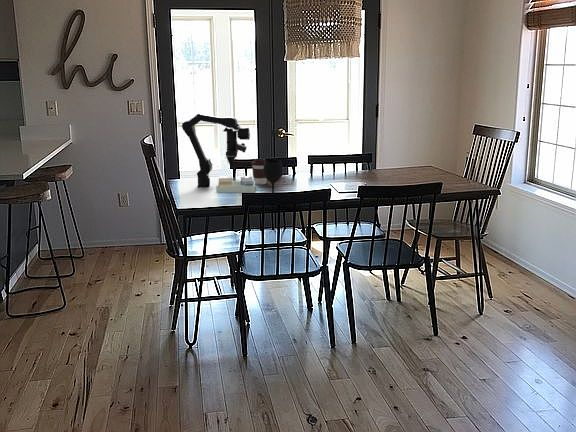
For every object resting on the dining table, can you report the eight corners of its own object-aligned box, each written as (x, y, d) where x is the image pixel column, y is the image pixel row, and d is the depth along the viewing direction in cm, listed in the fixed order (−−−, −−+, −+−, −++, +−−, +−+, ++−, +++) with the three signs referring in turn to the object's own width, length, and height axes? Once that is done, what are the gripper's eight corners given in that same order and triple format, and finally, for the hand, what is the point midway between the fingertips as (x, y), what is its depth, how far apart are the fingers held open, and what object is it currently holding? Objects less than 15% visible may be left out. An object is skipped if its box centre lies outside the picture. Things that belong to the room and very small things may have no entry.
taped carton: (218, 190, 348) (218, 178, 346) (219, 188, 353) (219, 176, 351) (231, 190, 348) (231, 178, 347) (231, 188, 353) (231, 176, 351)
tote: (216, 193, 343) (216, 186, 342) (218, 187, 358) (218, 181, 357) (254, 193, 344) (254, 186, 343) (254, 187, 359) (254, 181, 358)
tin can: (240, 190, 348) (240, 178, 346) (240, 188, 354) (240, 176, 352) (252, 190, 348) (252, 178, 346) (252, 188, 354) (252, 176, 353)
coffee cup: (253, 186, 364) (253, 160, 360) (250, 183, 373) (249, 158, 370) (270, 185, 367) (269, 160, 363) (266, 182, 376) (266, 157, 372)
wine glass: (282, 196, 337) (282, 159, 332) (283, 200, 326) (283, 162, 322) (263, 196, 336) (263, 159, 332) (263, 200, 326) (263, 162, 321)
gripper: (245, 141, 346) (245, 169, 350) (246, 137, 364) (246, 163, 368) (225, 141, 346) (225, 169, 349) (227, 137, 364) (227, 163, 368)
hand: (232, 166), depth 359 cm, fingers open, 9 cm apart
